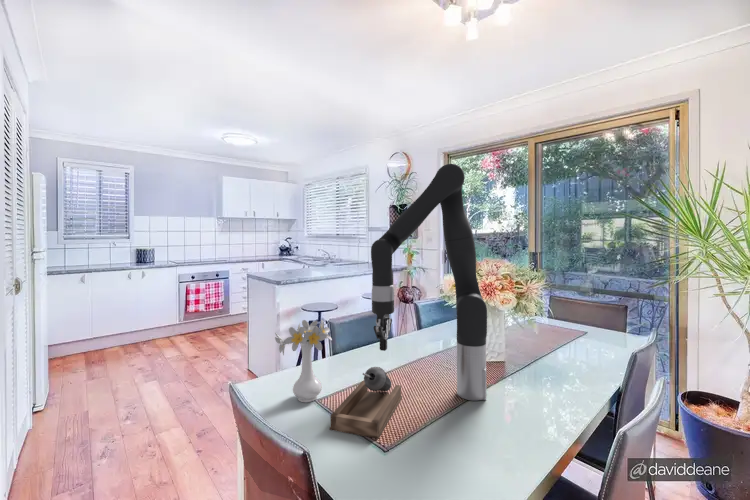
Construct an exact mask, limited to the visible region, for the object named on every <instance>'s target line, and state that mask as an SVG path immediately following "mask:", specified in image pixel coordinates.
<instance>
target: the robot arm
mask: <svg viewBox="0 0 750 500" xmlns="http://www.w3.org/2000/svg"><path fill="white" fill-rule="evenodd" d="M465 176H466V175H465V172H464V170H463V168H462V167H461V166H459V164H455V163H446V164H445V165H442V166H441V167H440V168H439V169H438V170H437V171H436V173H435V176H434V177H433V179H432V180H431V182H430V183H429V184H428V186H427V187H426V188H425V189H424V190H423V192H422V193H421V194H420V195H419V196H418V197H417V198H416V199H415V200H414V201H413V202H412V203H411V204H410V205H409V206H408V207H407V208H406V209H405V210H404V211H403V212H402V213H401V214H400V215H399V216H398V217H397V218H396V219H395V220H394V222H392V224H391V225H390V227H389V229H388V230H387V231H386V232H385V233H383V235H382V236H381V237H380V238H378V239H377V240H375V241H374V242H373V243H371V244H372V245H371V247H370V248H371V249H370V259H371V267H372V275H371V277H372V281H371V284H372V285H371V287H372V288H371V312H372V314H375V315H376V318H375V324H376V325H374V326H373V330H374V334H375V336H376V339H378V340H379V350H380V351H384V352H385V351H387V350H388V338H389V336H390V333H391V330H392V329H391V328H392V322H393V319H392V318H391V317H390V315H391V314H393V313H395V289H394V288H395V287H394V271H393V254H394V253H396V251H397V250H398V249H399V247H400V246H401V245H402V244H403V243H404V242H405V241H406V240H407V239H409V238H410V237H411V236H412V235H413V233H415V232H416V231H417V230H418V228H419V227H420V226H421V225H422V224H423V222H424V221H425V220H426V219H427V218H428V217H429V215H430V214H431V213H432V212H433V211H434V209H436V208H437V206H439V205H440V209H441V214H442V227H443V228H442V229H443V237H444V244H445V250H446V254H447V259H448V263H449V265H450V270H451V272H452V275H453V279H454V286H455V287H454V288H455V301H456V302H455V307H456V395H458V397H459V398H462V399H464V400H468V401H473V402H474V401H476V402H477V401H482V400H483V401H487V336H488V309H487V304H486V302H485V300H484V299H483V296H482V293H481V290H480V286H479V282H478V278H477V253H476V244H475V238H474V233H473V229H472V227H471V224H470V220H469V218H468V215H467V214H466V210H465V206H464V199H463V185H464V183H465Z"/></svg>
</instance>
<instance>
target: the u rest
mask: <svg viewBox="0 0 750 500" xmlns="http://www.w3.org/2000/svg"><path fill="white" fill-rule="evenodd" d="M402 399H403V395H402V385H401V384H399V385H398V384H395V385H394V388H393V389H392V390H391V392H390V393H384V392H383V393H382V392H378V391H371V390H368V388H367V386H366V385H365V382H364V380H362V381H361V382H360V383H359V384H358V385H357V386H356V387H355V388H354V390H352V392H351V393H350V394H348V396H347V397H346V398H345V399H344V400H343V401H342V402H341V403H340V405H339V406H337V408H336V409H335V410H334V411H333V412H332V413H331V414H330V426H329V430H330V431H335V432H338V433H339V432H340V433H346V434H351V435H355V436H362V437H366V436H368V437H367V438H371V437H373V438H372V439H376V438H377V439H378V440H380V437H381V436H382V434H383V432H384V431H385V429H384V428H386V427H387V425H388V423H389V422H390V420H391V418H392V416H393V414H394V413H395V412H396V409H397V408H398V406H399V404H400V402H401V401H402Z"/></svg>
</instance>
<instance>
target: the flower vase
mask: <svg viewBox="0 0 750 500" xmlns="http://www.w3.org/2000/svg"><path fill="white" fill-rule="evenodd" d="M320 321H321V322H320V324H319V327H318V326H317V325H318V323H319V322H318V320H314V321H312V322H311V323H310V324H309V322H308V321H307V320H305V319H303V320H302V321H301V323H300V322H299V324H298V326H297V329H295V328H294V327H293V326H290V327H289V328H288V332H289V334H290V336H289V337H286V338H285V339H284V338H283V337H281V336H280V335H279V334H278V333H277V332H274V334H275V336H276V337H274V340H275V342H276V343H278V344H279V345H278V346H279V347H278V351H279V353H280V354H281V353H282V356H285V348H286V345H289V344H292V345H291V351H292V352H295V351H297V349H298V348H299V344H300V347H301V348H300V349H301V357H302V358H301V372H300V375H299V377H298V379H297V380H296V381H295V382H294V384H293V386H292V393H293V395H295V397H296V398H297V400H298V401H299V402H301V403H311V402H314V401H316V400H317V399H318V396H319V395H320V393H321V392H322V390H323V385H322V382H321V381H320V380H319V378H317V376H316V375H315V373H314V369H313V361H312V351H313V347H315V348H316V349H317V350H318V351H322V350H323V344H322V343H321V342H320V341H324V340H326V339H329V341H333V339H332V337H331V336H330V334H329V333H330V330H331V329H330V327H328V326H325V323H324V322H325V321H324V320H323V319H321V320H320ZM301 325H302V326H301Z"/></svg>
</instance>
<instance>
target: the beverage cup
mask: <svg viewBox="0 0 750 500" xmlns="http://www.w3.org/2000/svg"><path fill="white" fill-rule="evenodd" d="M362 375H363V376H364V377H363V381H364V382H365V385H366V386H367V390H368V389H369V391H370V392H388V391H390V389H392V388H391V387H392V380H391V379H390V377H388V375H387V372H386V371H385V370H384V369H383V368H382V367H380V366H371V367H370V368H368V369H367V370H366V371H365V373H364V372H362Z"/></svg>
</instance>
